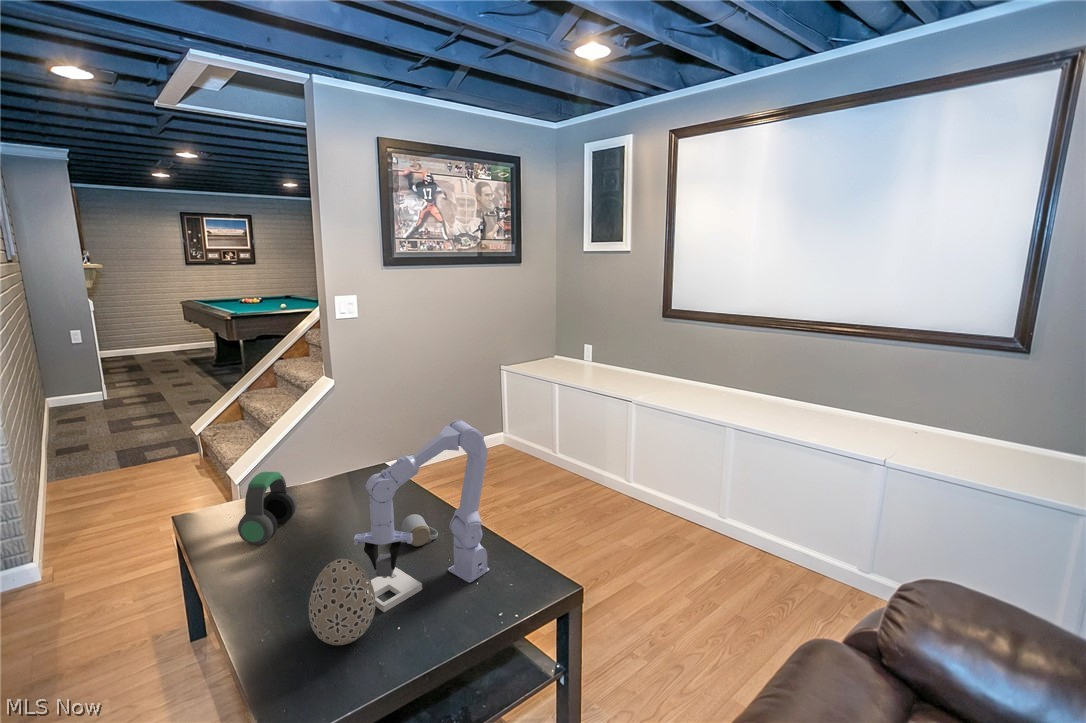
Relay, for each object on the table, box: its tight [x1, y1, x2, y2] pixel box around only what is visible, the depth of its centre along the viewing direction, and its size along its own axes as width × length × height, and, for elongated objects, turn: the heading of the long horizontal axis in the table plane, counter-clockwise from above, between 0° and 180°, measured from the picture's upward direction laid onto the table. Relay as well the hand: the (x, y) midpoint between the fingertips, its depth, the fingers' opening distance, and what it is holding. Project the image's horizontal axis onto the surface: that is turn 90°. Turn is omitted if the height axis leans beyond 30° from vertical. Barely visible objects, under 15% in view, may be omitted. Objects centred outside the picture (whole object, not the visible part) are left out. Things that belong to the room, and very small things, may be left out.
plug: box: [375, 553, 394, 578], centre depth 138 cm, size 4×4×5 cm
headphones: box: [237, 471, 298, 546], centre depth 170 cm, size 19×11×20 cm, turn 179°
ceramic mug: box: [400, 513, 439, 547], centre depth 167 cm, size 11×8×8 cm
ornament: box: [308, 558, 376, 646], centre depth 123 cm, size 15×15×20 cm
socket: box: [367, 566, 423, 613], centre depth 142 cm, size 12×12×2 cm
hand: (385, 567), depth 138 cm, fingers closed on plug, 4 cm apart
